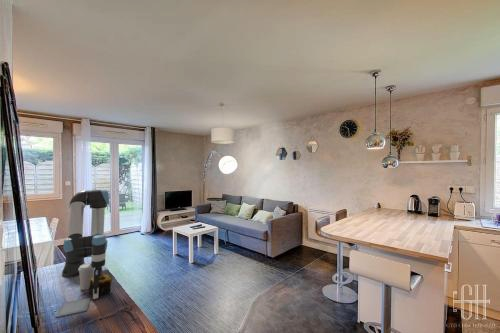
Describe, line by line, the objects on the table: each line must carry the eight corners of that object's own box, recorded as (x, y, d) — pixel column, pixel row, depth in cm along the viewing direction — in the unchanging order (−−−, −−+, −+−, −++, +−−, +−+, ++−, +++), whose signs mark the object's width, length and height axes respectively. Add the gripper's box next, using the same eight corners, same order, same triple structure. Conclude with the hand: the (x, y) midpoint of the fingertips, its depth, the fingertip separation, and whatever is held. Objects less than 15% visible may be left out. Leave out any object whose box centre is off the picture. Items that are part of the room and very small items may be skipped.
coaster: (62, 303, 136) (62, 302, 136) (90, 298, 142) (90, 297, 142) (55, 318, 123) (55, 316, 123) (86, 311, 130) (86, 310, 130)
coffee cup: (85, 291, 149) (86, 269, 149) (73, 289, 151) (74, 267, 151) (98, 284, 159) (98, 263, 159) (86, 282, 161) (87, 261, 161)
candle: (92, 300, 139) (93, 283, 140) (87, 293, 146) (89, 277, 147) (110, 294, 147) (112, 278, 148) (105, 288, 154) (107, 273, 154)
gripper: (94, 253, 156) (93, 284, 155) (87, 268, 133) (86, 304, 133) (107, 252, 159) (106, 282, 159) (102, 266, 137) (101, 301, 137)
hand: (97, 292), depth 146 cm, fingers open, 13 cm apart
